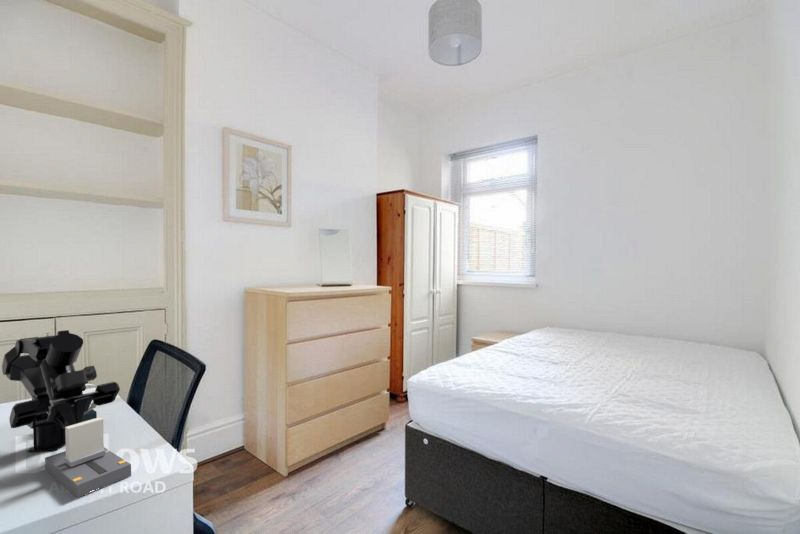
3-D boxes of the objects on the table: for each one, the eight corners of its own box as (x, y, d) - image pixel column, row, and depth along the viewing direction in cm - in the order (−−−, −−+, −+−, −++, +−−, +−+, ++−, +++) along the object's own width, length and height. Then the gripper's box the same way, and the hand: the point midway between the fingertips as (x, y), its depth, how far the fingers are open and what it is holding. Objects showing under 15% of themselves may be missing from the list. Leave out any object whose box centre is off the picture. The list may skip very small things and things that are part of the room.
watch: (63, 425, 106) (62, 387, 106) (98, 416, 112) (97, 379, 112) (68, 430, 102) (67, 390, 102) (104, 420, 109) (103, 383, 109)
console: (45, 468, 83) (44, 457, 83) (95, 451, 90) (94, 440, 90) (77, 498, 72) (77, 484, 72) (131, 475, 79) (131, 463, 79)
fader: (64, 461, 80) (63, 425, 80) (98, 450, 85) (97, 416, 85) (70, 467, 78) (70, 430, 78) (105, 454, 83) (104, 419, 83)
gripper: (11, 366, 79) (27, 430, 73) (116, 349, 94) (136, 400, 88) (3, 397, 83) (17, 459, 77) (104, 376, 99) (122, 426, 93)
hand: (78, 434), depth 84 cm, fingers closed
